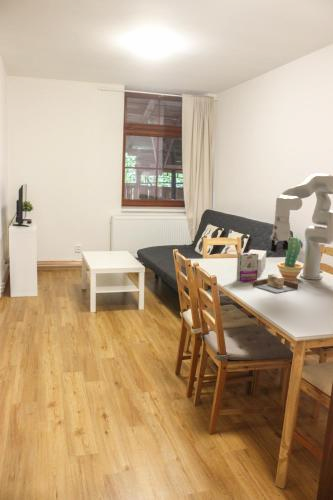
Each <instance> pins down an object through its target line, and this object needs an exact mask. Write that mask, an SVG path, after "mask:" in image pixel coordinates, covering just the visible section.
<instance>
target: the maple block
mask: <svg viewBox="0 0 333 500" xmlns="http://www.w3.org/2000/svg"><path fill="white" fill-rule="evenodd" d="M267 278H268V283H267V284H270V285H273V286H277V287H281V286H283V285H284V280H285V279H284V277H282V275H281V276H280V275H277V274H273V273H272V274H268V275H267Z"/></svg>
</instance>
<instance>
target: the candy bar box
mask: <svg viewBox="0 0 333 500" xmlns="http://www.w3.org/2000/svg"><path fill="white" fill-rule="evenodd" d="M236 263H237V265H236V282H239V283H250V282H251V283H253V281H255V280H258V276H257V270H258V254H257V253H248V252H238V253H237V262H236Z"/></svg>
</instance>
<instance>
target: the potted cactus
mask: <svg viewBox="0 0 333 500" xmlns="http://www.w3.org/2000/svg"><path fill="white" fill-rule="evenodd" d="M303 247H304V242H303V241H302V240H301V239H299V238H298V237H295V236H293V237H292V236H291V238H290V241H289V243H288V250H285V260H284V262H278V263H277V264H276V266H277V268H278V270H279V273H280V275H281V277H284V280H288V281H289V280H290V281H294V280H295V281H296V280H297V279H298V276H300V274H301V272H302V271H303V265H304V264H300V263H296V261H297V259H298V256H299V255H300V253H301V250H302V249H304V248H303Z"/></svg>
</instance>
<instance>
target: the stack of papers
mask: <svg viewBox="0 0 333 500" xmlns="http://www.w3.org/2000/svg"><path fill="white" fill-rule="evenodd" d="M247 253H257V254H258V270H257V277H261V275H262V274H263V271H264V270H265V267H266V264H267V263H266V261H267V250H261V249H259V250H258V249H249V251H248V252H247Z"/></svg>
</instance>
